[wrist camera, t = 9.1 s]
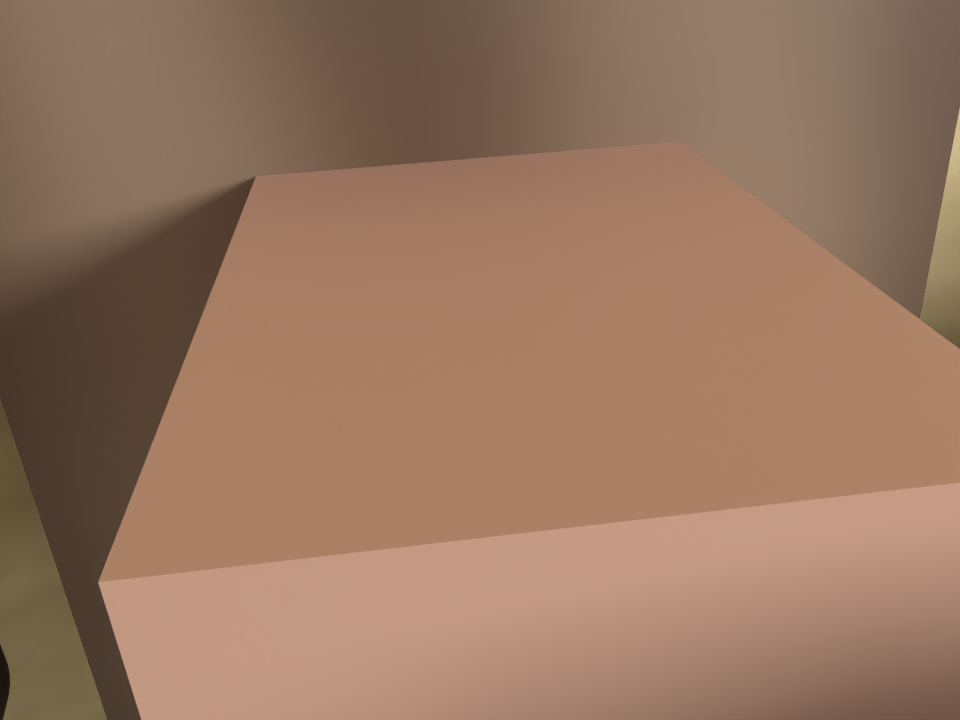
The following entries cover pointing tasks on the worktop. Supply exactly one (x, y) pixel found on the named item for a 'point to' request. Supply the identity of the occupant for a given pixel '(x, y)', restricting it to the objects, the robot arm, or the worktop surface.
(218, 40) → the walnut base
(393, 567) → the terracotta block
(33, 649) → the worktop surface
